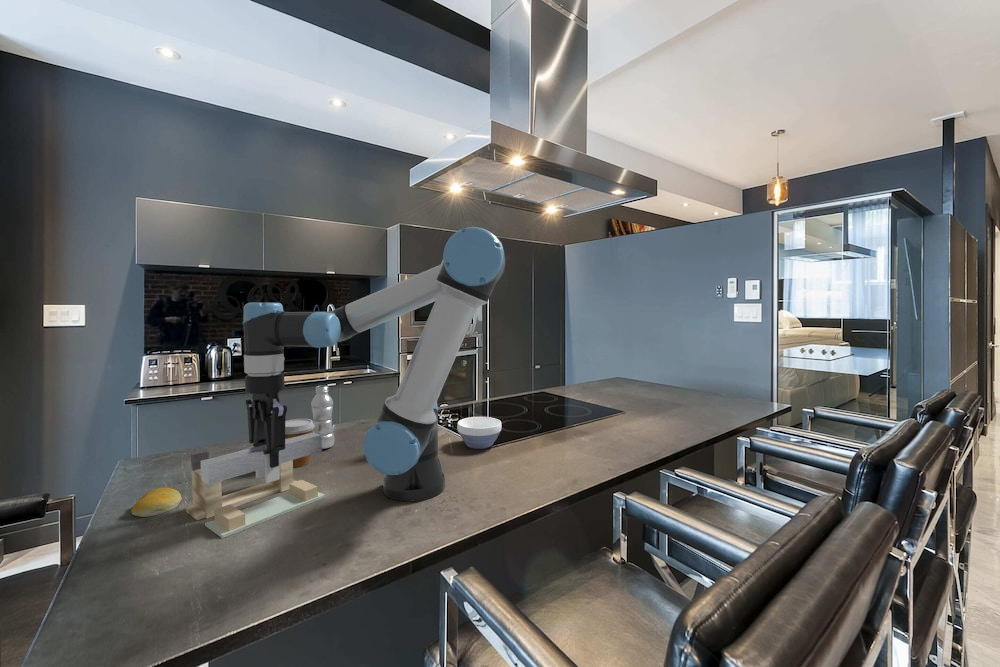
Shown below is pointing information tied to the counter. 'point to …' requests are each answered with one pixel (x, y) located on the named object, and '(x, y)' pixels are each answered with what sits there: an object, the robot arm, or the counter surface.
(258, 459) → the rail
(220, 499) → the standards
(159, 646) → the counter surface
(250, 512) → the rest pad
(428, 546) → the counter surface
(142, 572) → the counter surface
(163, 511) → the bread roll
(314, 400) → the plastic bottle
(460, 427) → the bowl
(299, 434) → the disposable coffee cup
